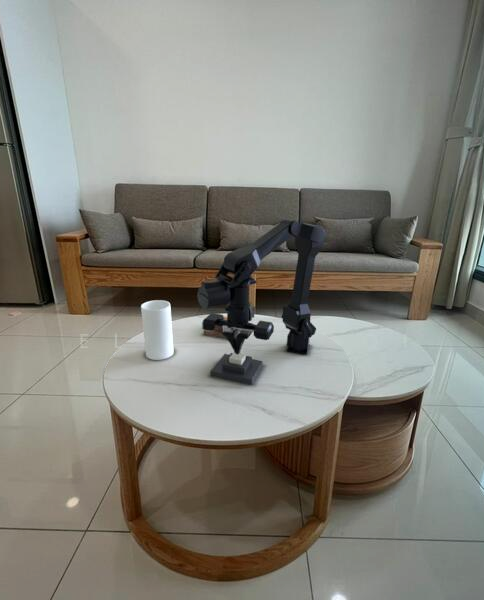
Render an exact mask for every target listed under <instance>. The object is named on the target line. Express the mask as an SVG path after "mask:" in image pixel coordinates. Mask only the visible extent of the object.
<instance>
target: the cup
mask: <svg viewBox="0 0 484 600" xmlns="http://www.w3.org/2000/svg"><path fill="white" fill-rule="evenodd" d="M171 308H172V307H171V303H170V302H169V301H167V300H162V299H159V300H158V299H155V300H149V301H145V302H144V303H141V305H140V311H141V320H142V321H141V322H142V329H143V340H144V350H145V356H146V358H147V359H149V360H152V361H162V360H165V359H168V358H170V357H172V356H173V355H174V353H175V351H174V337H173V323H172V321H173V320H172V309H171Z"/></svg>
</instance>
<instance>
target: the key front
mask: <svg viewBox="0 0 484 600" xmlns="http://www.w3.org/2000/svg"><path fill="white" fill-rule="evenodd" d="M232 353H233V354H232V355H231V356H230V358H229V363H232V364H237V365H242V364H243V363H244V361H245V360H246V356H247V354H246V353H241V352H240V353H239V354H235V352H234V351H233V352H232Z"/></svg>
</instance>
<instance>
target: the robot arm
mask: <svg viewBox="0 0 484 600" xmlns="http://www.w3.org/2000/svg"><path fill="white" fill-rule="evenodd" d="M326 236H327V232H326V230H325V228H324V227H323V226H322V225H319V224H318V225H317V224H311V223H302V222H299V221H298V220H296V219H290V218H284V219H281V221H280V222H279V224H277V225H275V226H274V227H273V228H271V229H269V231H268V232H265V233H264V235H262V236H260V237H259V238H257V240H255V241H254V242H252V243H250V244H248V245H246V246H242V247H238V248H236V249H234V250H233V251H230V252H228V253H227V254H226V255H225V256H224V257H223V263H222V264H221V266H220V267H219V269H218V271H217V273H216V274H215V276H214V278H215V279H213V280H202V281H201V282H200V283H201V284H200V286H199V288H198V291H197V293H196V294H197V301H198V304H199V306H200V308H202V309H203V310H209V309H215V308H219V307H223V306H225V311H224V312H227V313H226V317H227V320H224V317H225V316H224V314H221V313H214V312H211V313H209V314H208V315H207V316H206V317H205V318H204V319H203V320H202V322H201V326H202V327H201V328H202V330H203V331H204V330H210V331H212V330H214V329H215V325H216V326H222V327H223V332H222V335H224V336H225V337H226V338H227V339H226V340H227V342H228V344H230V346H231V348H232V350H233V353H234V352H235V354H239V353H241V350H242V348H243V345H244V343H245V340H248V339H249V338H250V337H251V334H253V336H254V338H255V339H257V340H262V341H268V340H270V338H271V337H272V335H273V333H274V332H275V331H274V329H275V325H274V323H273V322H271V321H266V320H259V321H258V322H257V323H255V324H254V323H253V322H251V321H252V320H253V319H255V313H256V306H254V305H253V306H251V302H250V286H251V285H255V284H257V282H258V281H257V280H256V279H255V278H253V276H252V274H254V273H255V271H257V270H258V268H259V267H260V264H261V262H262V261H263V260H264V258H266V257H268V255H270V254H271V253H273V252H274V251H275V250H276V249H278V248H279V247H281V246H282V245H283V244H284V243H285V242H287V241H288V240H290V239H292V238H294V245H295V248H296V251H297V255H298V256H297V262H296V268H295V275H294V281H293V287H292V293H291V300H290V301H289V302H288V304H287V305H283V307H282V314H281V317H280V318H281V319H282V323H283V325H284V326H285V329H287V330H289V332H288V334H287V337H286V347H287V348H286V351H287V352H290V353H294V354H295V353H296V354H301V355H307V354H308V352H309V350H310V348H311V347H310V346H311V344H310V339H311V338H312V336H314V335H315V334H316V331H317V327H316V326H315V325H314V324H313V323H312V322H311V316H312V315H311V314H312V313H311V310H310V307H309V302H308V301H309V296H310V292H311V291H310V290H311V284H312V279H313V274H314V267H315V261H316V257H317V256H318V254H319V253H320V252H321V251H322V249H323V247H324V244H325V240H326ZM228 274H229V275H228ZM230 275H232V276H230ZM239 329H240V333H239V334H238V330H239Z"/></svg>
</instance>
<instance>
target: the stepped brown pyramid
mask: <svg viewBox="0 0 484 600" xmlns="http://www.w3.org/2000/svg"><path fill="white" fill-rule="evenodd" d="M222 332H223V327H222V326H216V325H215V329H214V330H212V331H210V330H204V329H203V335H204V336H207V337H213V338H219V339H225V340H227V338H226V337H225V336H224V335H222ZM239 333H240V329H239V330H238V334H239Z"/></svg>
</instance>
